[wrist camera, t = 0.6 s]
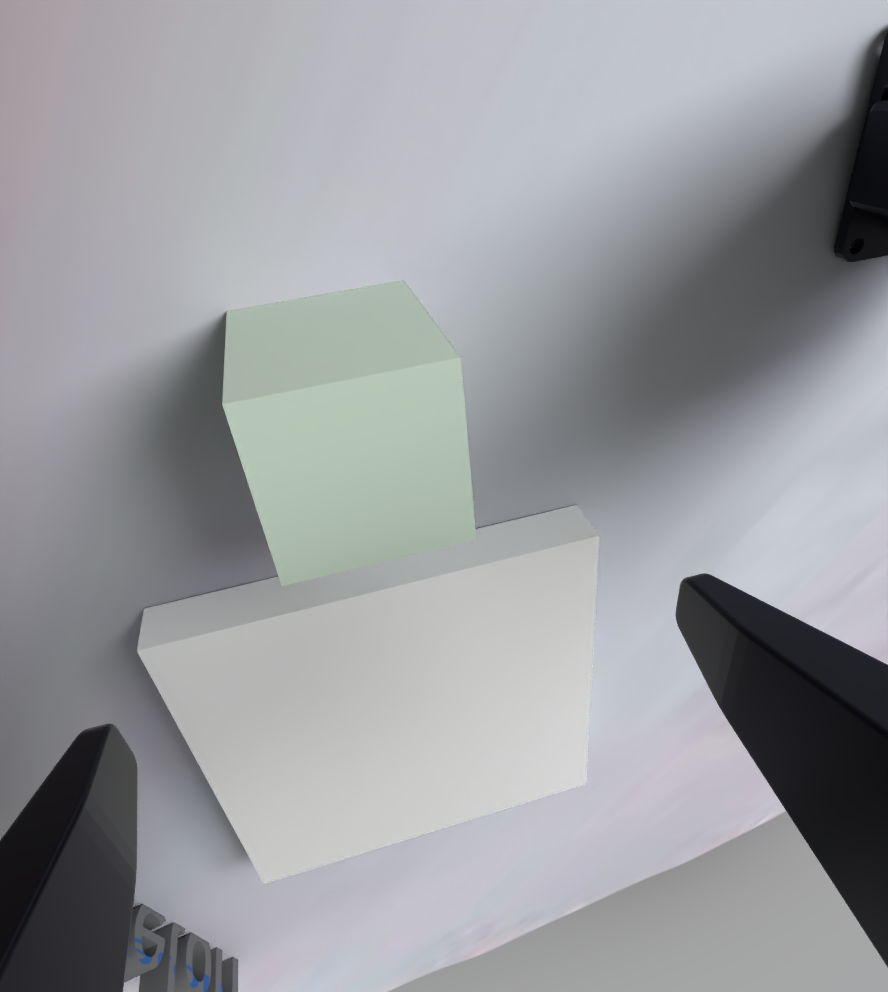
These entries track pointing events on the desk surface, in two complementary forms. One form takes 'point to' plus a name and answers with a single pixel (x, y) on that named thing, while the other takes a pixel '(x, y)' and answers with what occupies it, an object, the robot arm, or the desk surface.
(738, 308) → the desk surface
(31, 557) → the desk surface
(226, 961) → the extruded letter logo
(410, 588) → the base plate
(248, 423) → the sage block
